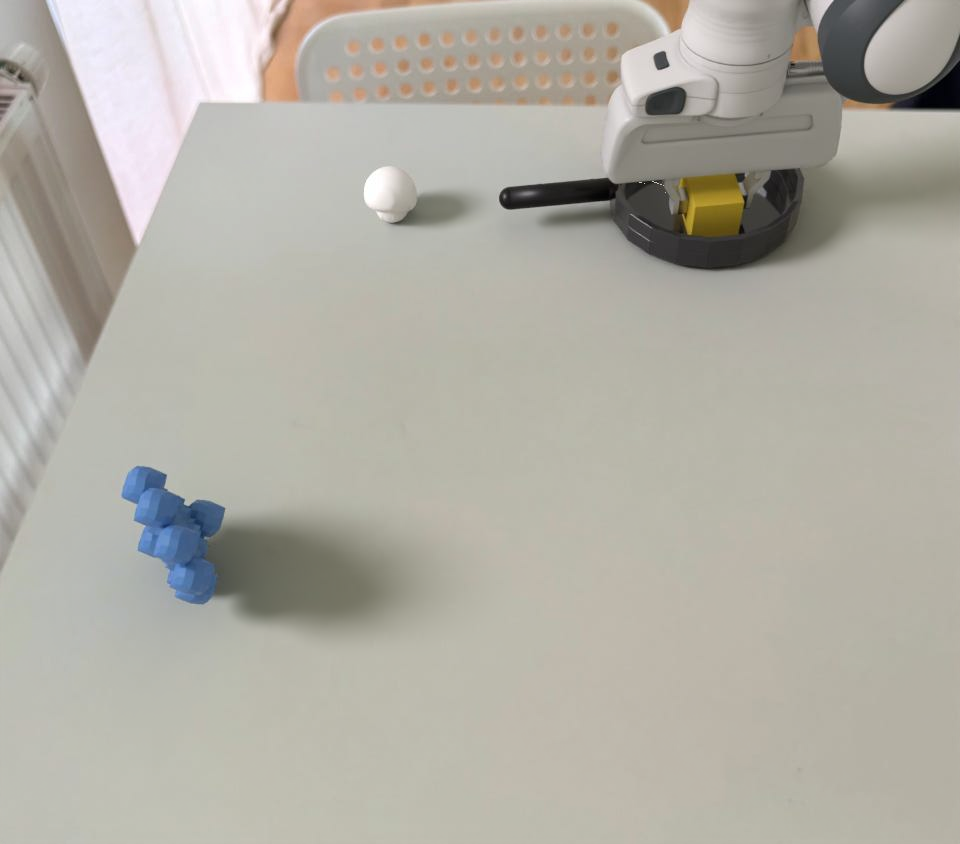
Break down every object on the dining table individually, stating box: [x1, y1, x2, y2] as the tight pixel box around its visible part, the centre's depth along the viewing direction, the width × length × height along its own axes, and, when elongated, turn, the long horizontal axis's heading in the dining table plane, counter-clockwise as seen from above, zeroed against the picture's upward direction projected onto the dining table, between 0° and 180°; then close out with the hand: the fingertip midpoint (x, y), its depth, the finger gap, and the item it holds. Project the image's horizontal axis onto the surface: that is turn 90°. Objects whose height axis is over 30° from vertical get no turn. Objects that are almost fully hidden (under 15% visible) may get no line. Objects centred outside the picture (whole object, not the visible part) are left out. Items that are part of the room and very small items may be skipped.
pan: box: [609, 168, 805, 269], centre depth 102 cm, size 17×17×4 cm
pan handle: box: [498, 177, 619, 211], centre depth 101 cm, size 11×2×2 cm, turn 95°
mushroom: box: [363, 165, 418, 224], centre depth 103 cm, size 5×5×5 cm
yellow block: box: [678, 174, 744, 237], centre depth 100 cm, size 4×6×4 cm
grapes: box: [121, 465, 226, 605], centre depth 78 cm, size 12×7×12 cm, turn 31°
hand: (708, 207), depth 101 cm, fingers closed on yellow block, 4 cm apart
